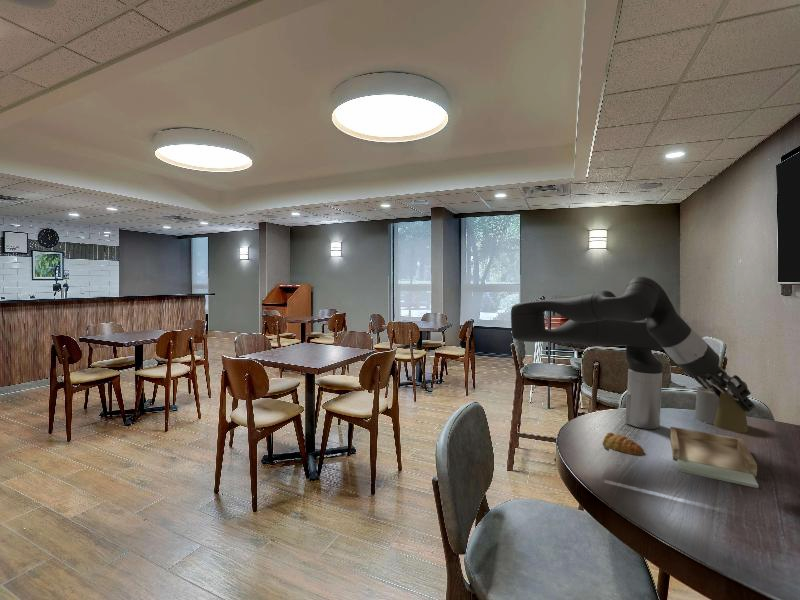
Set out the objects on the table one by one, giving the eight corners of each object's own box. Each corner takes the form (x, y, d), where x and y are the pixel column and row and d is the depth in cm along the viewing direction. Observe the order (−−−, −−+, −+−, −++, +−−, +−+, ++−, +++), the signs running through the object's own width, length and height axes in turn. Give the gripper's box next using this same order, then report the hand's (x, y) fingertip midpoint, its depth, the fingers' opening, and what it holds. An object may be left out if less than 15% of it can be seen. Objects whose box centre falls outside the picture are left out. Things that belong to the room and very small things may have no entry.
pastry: (647, 454, 108) (648, 440, 107) (636, 461, 103) (637, 446, 103) (611, 442, 115) (611, 429, 115) (599, 448, 111) (600, 435, 110)
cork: (706, 423, 95) (709, 376, 95) (730, 422, 96) (732, 376, 95) (730, 432, 89) (732, 382, 89) (755, 432, 90) (758, 382, 89)
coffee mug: (735, 428, 127) (737, 396, 126) (695, 421, 132) (697, 391, 132) (730, 416, 138) (732, 387, 137) (694, 410, 143) (695, 382, 143)
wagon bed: (673, 462, 102) (673, 448, 102) (670, 438, 118) (670, 426, 118) (756, 479, 94) (757, 464, 94) (741, 451, 110) (742, 438, 109)
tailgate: (677, 463, 102) (678, 473, 96) (677, 458, 101) (678, 468, 96) (752, 479, 94) (758, 490, 89) (752, 474, 94) (758, 485, 89)
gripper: (656, 356, 99) (704, 406, 99) (699, 369, 85) (754, 427, 85) (680, 335, 99) (727, 385, 99) (726, 344, 84) (782, 403, 85)
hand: (739, 404), depth 92 cm, fingers closed on cork, 5 cm apart
